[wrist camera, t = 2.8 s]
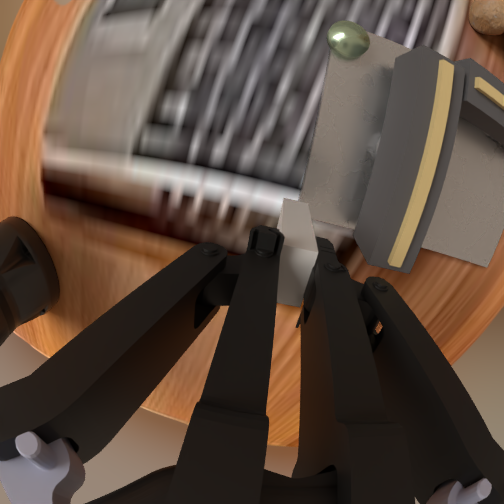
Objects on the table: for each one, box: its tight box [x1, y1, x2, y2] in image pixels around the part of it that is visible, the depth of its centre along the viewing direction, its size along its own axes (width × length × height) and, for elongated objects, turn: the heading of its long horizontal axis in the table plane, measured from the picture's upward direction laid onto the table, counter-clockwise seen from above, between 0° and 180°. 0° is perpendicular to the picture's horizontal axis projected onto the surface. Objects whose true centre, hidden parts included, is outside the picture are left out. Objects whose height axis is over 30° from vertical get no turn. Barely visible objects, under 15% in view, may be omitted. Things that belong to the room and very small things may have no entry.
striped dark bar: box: [353, 45, 465, 274], centre depth 14 cm, size 3×14×6 cm, turn 170°
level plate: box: [298, 21, 504, 268], centre depth 17 cm, size 22×16×2 cm
